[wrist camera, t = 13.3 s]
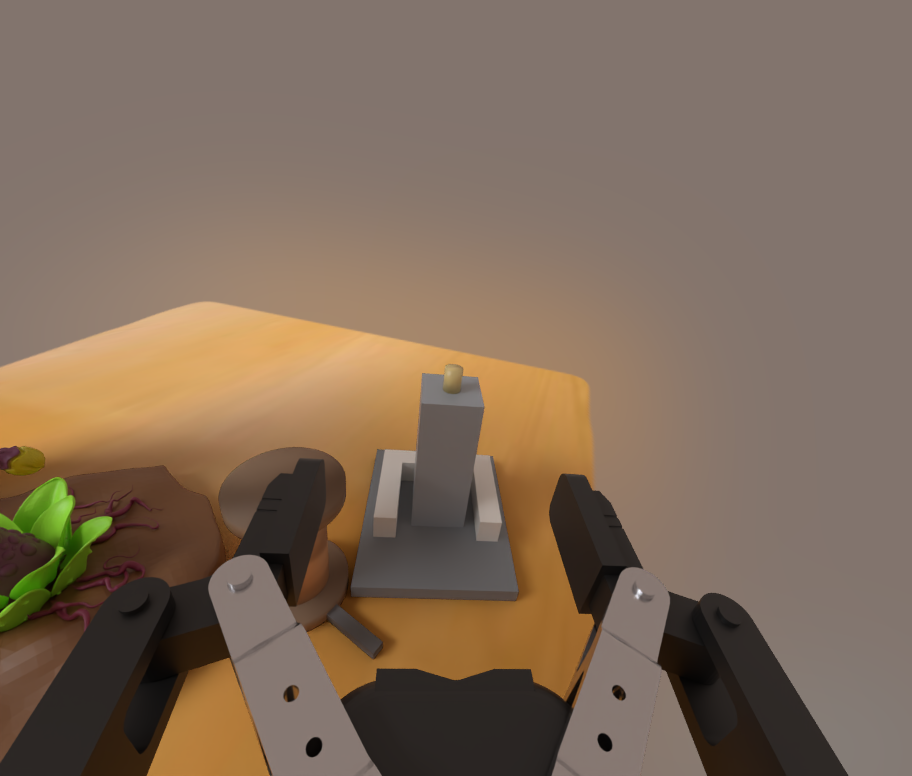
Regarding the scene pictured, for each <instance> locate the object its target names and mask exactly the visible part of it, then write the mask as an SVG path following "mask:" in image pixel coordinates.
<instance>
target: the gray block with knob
mask: <svg viewBox="0 0 912 776" xmlns="http://www.w3.org/2000/svg"><path fill="white" fill-rule="evenodd" d="M483 413H484V403H483V399H482V394H481V390H480V385H479V380H478V377H467V376H463V367H461V366H459V365H456V364H449V365H446V366H445V373H444V375H439V374H425V373H422V383H421V395H420V407H419V420H418V432H417V445H416V457H415V469H414V482H413V499H412V520H411V526H433V527H464V521H465V516H466V510H467V504H468V499H469V493H470V487H471V481H472V476H473V470H474V464H475V458H476V453H477V447H478V441H479V435H480V430H481V424H482V418H483Z"/></svg>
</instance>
